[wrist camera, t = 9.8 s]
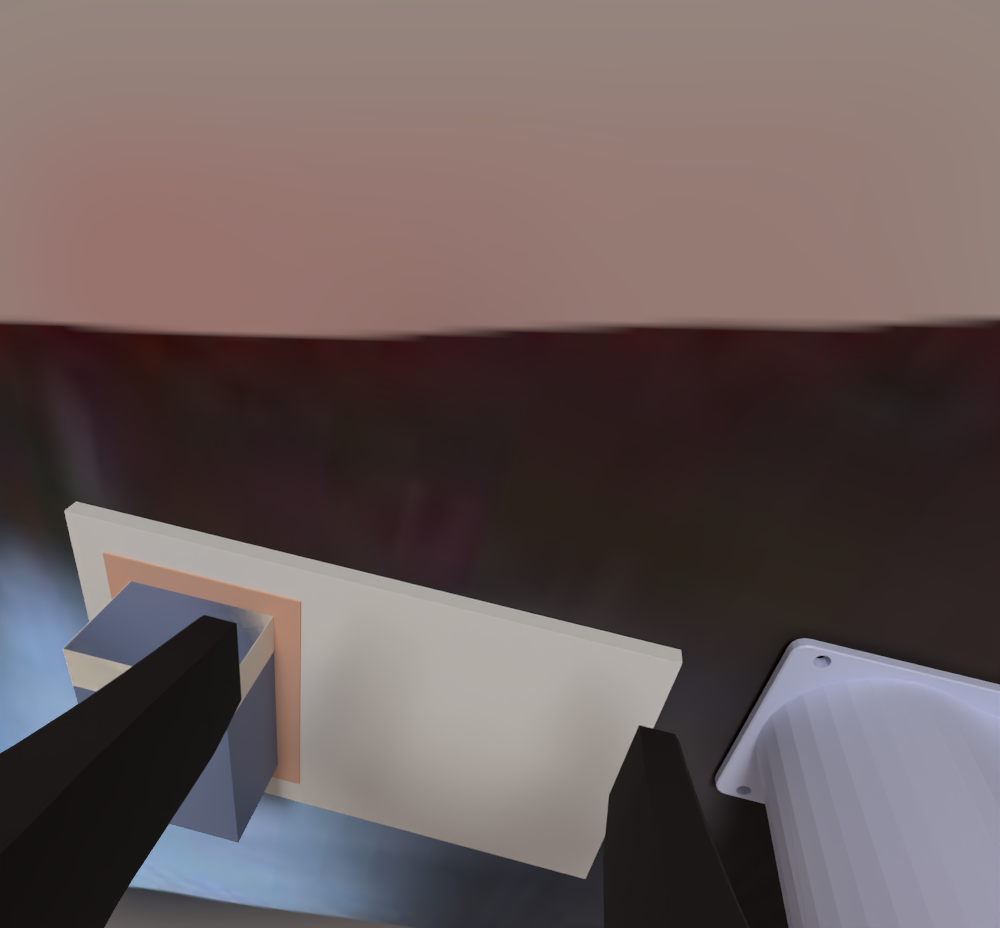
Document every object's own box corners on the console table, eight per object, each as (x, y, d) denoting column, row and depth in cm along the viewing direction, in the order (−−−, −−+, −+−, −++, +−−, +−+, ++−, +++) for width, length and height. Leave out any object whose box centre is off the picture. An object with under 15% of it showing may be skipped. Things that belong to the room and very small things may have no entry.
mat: (681, 649, 22) (682, 665, 22) (586, 865, 30) (585, 880, 29) (76, 501, 24) (62, 511, 23) (127, 742, 31) (118, 754, 30)
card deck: (278, 765, 29) (238, 842, 26) (158, 734, 29) (106, 806, 26) (273, 616, 24) (224, 689, 21) (130, 580, 24) (62, 648, 21)
